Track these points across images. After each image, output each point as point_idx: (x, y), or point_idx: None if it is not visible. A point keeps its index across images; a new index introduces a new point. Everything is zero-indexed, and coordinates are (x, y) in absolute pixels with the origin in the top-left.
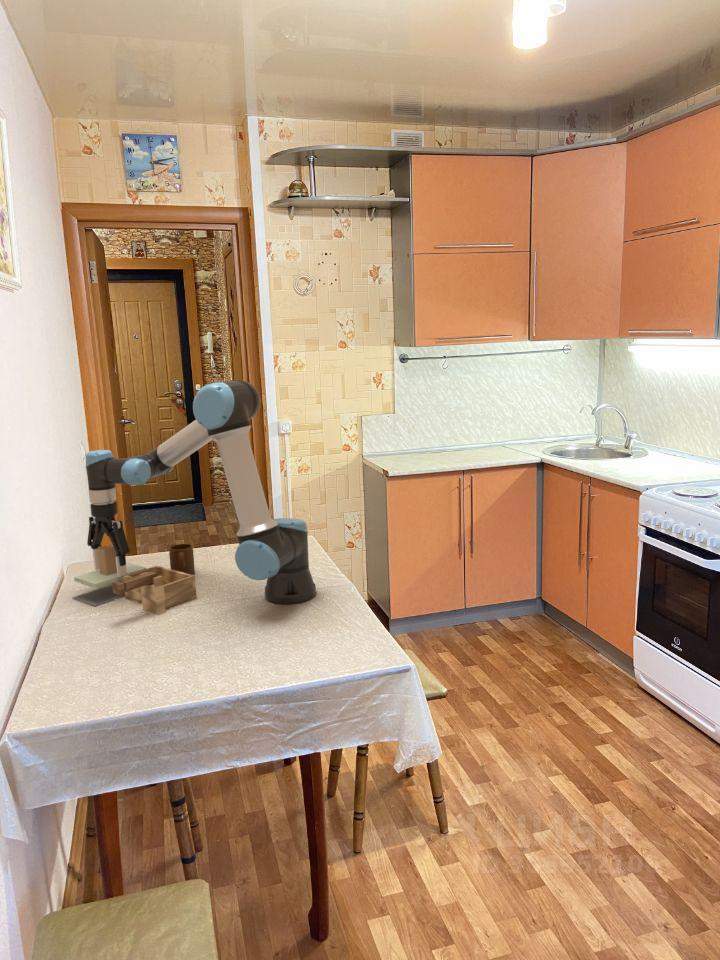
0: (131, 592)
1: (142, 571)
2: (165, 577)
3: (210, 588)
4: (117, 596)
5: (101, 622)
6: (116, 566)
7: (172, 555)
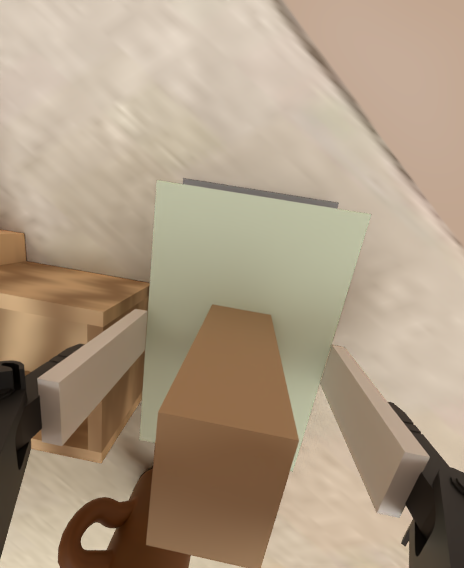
0: (96, 283)
1: None
2: None
3: None
4: None
5: (31, 71)
6: (117, 335)
7: (137, 557)
